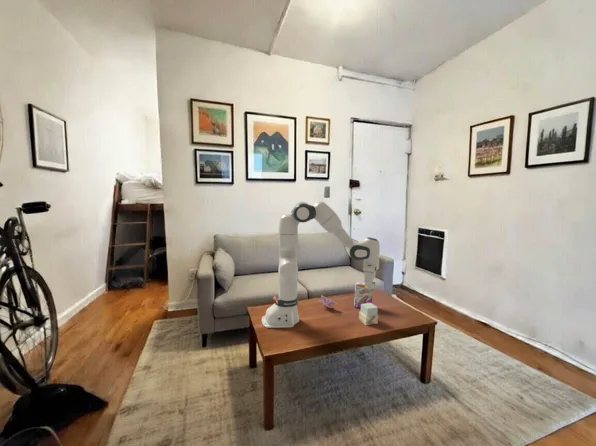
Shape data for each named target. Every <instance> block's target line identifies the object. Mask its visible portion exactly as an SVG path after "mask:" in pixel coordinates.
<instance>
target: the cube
mask: <svg viewBox="0 0 596 446" xmlns="http://www.w3.org/2000/svg"><path fill="white" fill-rule="evenodd" d="M375 290H376V282H375V281H373V282H372V284H371V290H368V286H367V285H365V292H370V293H372V294H374V293H375V292H376V291H375Z"/></svg>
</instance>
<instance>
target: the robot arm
mask: <svg viewBox="0 0 596 446" xmlns="http://www.w3.org/2000/svg"><path fill="white" fill-rule="evenodd" d="M313 219H314V220H315V221H316V222H317V223H318V224H319V225H320V226H321V227H322V228H323V229H324V230H325V231H326V232H327V233H330V234H332V235H334V236H335V237H336V238H337V239H338V240H339V241H340V242H341V244H342V245H343V247H344V250H345V252H346V254H347V255H349V257H350V258H351V259H352V260H354V261H362V260H363V263H362V264H363V266H362V267H363V268H362V271H363V277H364V278H363V279H364V282H363V283H365V285H367V286H368V290H371V284H372V282H374V281H375V278H376V274H377V270H379V268H380V257H379V255H380V252H381V251H380V250H381V249H380V247H381V246H380V242H379V240H378V239H377V238H374V237H369V236H367V237H365V238H364V239H363V240H360V241H358V240H356V239H354V238H352V237H351V236H350V235H349V234H348V232H347V231H346V230H345V229H344V228H343V225H342V220H341V218H340V217H339V215H338V214H337V213H336V212H335V210H333V209H332V207H331V206H329V205H328V204H327V203H326V202H324V201H317V202H316V203H314V204H313V205H311V204H309V203H307V202H304V201H300V202H297V203H296V204H294V207H293V208H292V210H291V212H290V213H286V214H285V213H284V214H283V215H281V217H280V218H279V222H278V223H279V224H278V257H279V259H278V295H277V296H273V301H274V303H273V304H272V305H271V306H269V307H268V308H267V309H266V311H265V315H263V316H262V317H261V323H262V325H263V327H265V328H266V329H280V328H284V329H285V328H293V327H294V326H295V325H297V324H298V323H299V322H300V318H299V312H298V305H299V297H298V280H299V279H298V277H299V276H298V275H299V267H298V266H299V265H298V250H299V249H298V247H299V245H298V244H299V243H298V241H299V239H298V237H299V235H298V234H299V232H298V227H299V224H300V223H307V222H309V221H312V220H313Z"/></svg>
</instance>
